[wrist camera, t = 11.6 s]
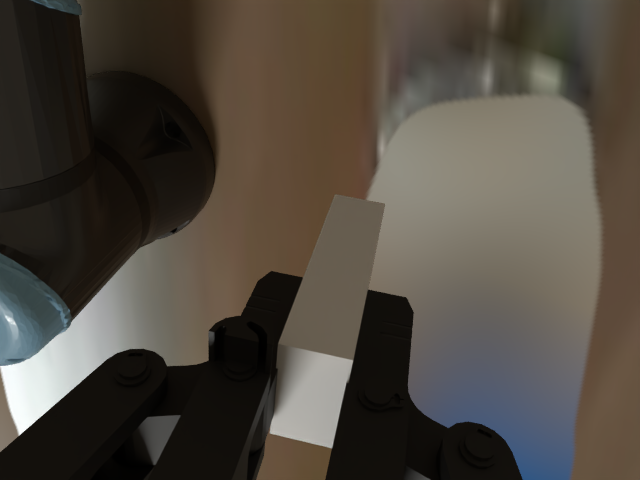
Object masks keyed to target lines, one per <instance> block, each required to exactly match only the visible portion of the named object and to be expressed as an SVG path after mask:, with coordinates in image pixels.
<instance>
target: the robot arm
mask: <svg viewBox="0 0 640 480" xmlns="http://www.w3.org/2000/svg"><path fill="white" fill-rule="evenodd" d="M79 15H82V10H81V6H80V4H78V3H77V1H76V0H0V366H6V365H12V364H17V363H20V362H23V361H25V360H26V359H29V358H31V357H32V356H34V355H35V354H37V353H38V352H39V351H40V350H41V349H42V348H43V347H44V346H45V345H47V344H48V343H49V342H50V341H51V340H52V339H53V338H54V337H55V336H56V335H58V334H60V333H62V332H64V331H66V330H67V329H68V328H69V326H70V325H71V322H72V320H73V319H74V318H75V317H76V316H77V315H78V314H79V313H80V312H81V311H82V309H83V308H84V307H85V306H86V305H87V304H88V303H89V302H90V301H91V300H92V298H93V297H94V296H95V295H96V294H97V293H98V292H99V291H100V290H101V289H102V288H103V286H104V285H105V284H106V283H107V282H108V281H109V280H110V279H111V278H112V277H113V275H114V274H115V273H116V272H117V271H118V270H119V269H120V268H121V267H122V266H123V265H124V264H125V262H126V261H127V260H128V259H129V258H130V257H131V256H132V255H133V254H134V253H135V252H136V251H137V250H138V249H139V248H140V247H142V246H145V245H147V244H150V243H152V242H153V241H155V240H156V239H161V238H165V237H167V236H170V235H172V234H175V233H177V232H178V231H180V230H182V229H183V228H184V227H186V226H187V225H188V224H189V223H190V222H191V221H192V220H193V219H194V218H195V217H196V216H197V215H198V213H199V212H200V211H201V210H202V209H203V207H204V206H205V204H206V203H207V201H208V199H209V197H210V194H211V192H212V188H213V183H214V172H215V171H214V159H213V154H212V150H211V147H210V144H209V141H208V139H207V136H206V134H205V132H204V130H203V128H202V126H201V125H200V123H199V121H198V120H197V118H196V117H195V116H194V114H193V113H192V112H191V110H190V109H189V108H188V107H187V106H186V105H185V104H184V103H183V102H182V101H181V100H180V99H179V98H178V97H177V96H176V95H174V94H173V93H172V92H171V91H169V90H168V89H166V88H165V87H163V86H162V85H160V84H158V83H157V82H155V81H153V80H150V79H148V78H146V77H143V76H140V75H137V74H133V73H128V72H120V71H110V72H103V73H98V74H95V75H92V76H90V77H88V78H86V72H85V63H84V54H83V45H82V37H81V28H80V19H79ZM384 207H385V204H383V203H378V202H373V201H368V200H363V199H357V198H352V197H347V196H341V195H336V194H335V196H334V198H333V201H332V204H331V206H330V209H329V212H328V214H327V217H326V219H325V222H324V225H323V227H322V230H321V233H320V235H319V238H318V240H317V243H316V246H315V248H314V251H313V254H312V256H311V259H310V261H309V264H308V267H307V269H306V272H305V275H304V277H298V276H293V275H288V274H283V273H278V272H273V271H271V272H269V273H268V274H267V275H265V276H264V277H263V278H261V279H260V280H259V281H258V282H257V284H256V286H255V288H254V290H253V292H252V294H251V297H250V298H249V300H248V302H247V304H246V308H244V310H243V312H242V314H241V316H235V317H229V318H225V319H223V320H221V321H219V322H217V323H215V325H214V326H213V327H212V328H211V329H210V330H209V361H207V362H204V363H201V364H197V365H189V366H167V365H166V363H165V361H164V359H163V358H162V357H161V356H159V355H158V354H157V353H155V352H153V351H149V350H145V349H129V350H126V351H123V352H119V353H117V354H115V355H114V356H112V357H110V358H109V359H107V360H106V361H105V362H104V363H102V364H101V365H100V366H99V367H98V368H97V369H96V370H94V371H93V372H92V373H91V374H90V375H89V376H87V377H86V378H85V379H84V380H83V381H82V382H81V383H79V384H78V385H77V386H76V387H75V388H74V389H73V390H71V391H70V392H69V393H68V394H67V395H66V396H64V397H63V398H62V399H61V400H60V401H59V402H58V403H56V404H55V405H54V406H53V407H52V408H51V409H50V410H48V411H47V412H46V413H45V414H44V415H43V416H41V417H40V418H39V419H38V420H37V421H36V422H35V423H33V424H32V425H31V426H30V427H29V428H28V429H26V430H25V431H24V432H23V433H22V434H21V435H20V436H18V437H17V438H16V439H15V440H14V441H13V442H12V443H10V444H9V445H8V446H7V447H6V448H5V449H3V450H2V451H1V452H0V480H256V478H257V475H258V472H259V469H260V466H261V463H262V460H263V456H264V449H265V439H266V436H267V433H268V430H269V427H270V425H271V429H270V433H271V434H275V435H279V436H283V437H287V438H291V439H296V440H300V441H304V442H308V443H312V444H317V445H321V446H325V447H329V448H332V451H331V456H330V461H329V465H328V470H327V475H326V479H325V480H522V477H521V474H520V472H519V469H518V466H517V464H516V461H515V458H514V456H513V453H512V451H511V449H510V448H509V446H508V445H507V443H506V441H505V440H504V439H503V438H502V437H501V436H500V435H498V434H497V433H496V432H495V431H494V430H491V429H490V428H488V427H486V426H484V425H482V424H477V423H472V422H463V423H456V424H455V425H453V426H452V427H450V428H447V427H445V426H443V425H441V424H439V423H437V422H435V421H433V420H432V419H430V418H429V417H427V416H426V415H424V414H423V413H422V412H421V411H420V410H418V409H417V407H416V406H415V405H414V403H413V402H412V400H411V398H410V395H409V393H408V374H409V362H410V349H411V338H412V326H413V313H414V312H413V310H412V308H411V306H410V304H409V302H408V300H407V298H406V297H401V296H396V295H391V294H387V293H381V292H377V291H372V290H368V288H369V283H370V278H371V273H372V268H373V262H374V257H375V253H376V247H377V242H378V237H379V232H380V227H381V222H382V217H383V212H384Z"/></svg>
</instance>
